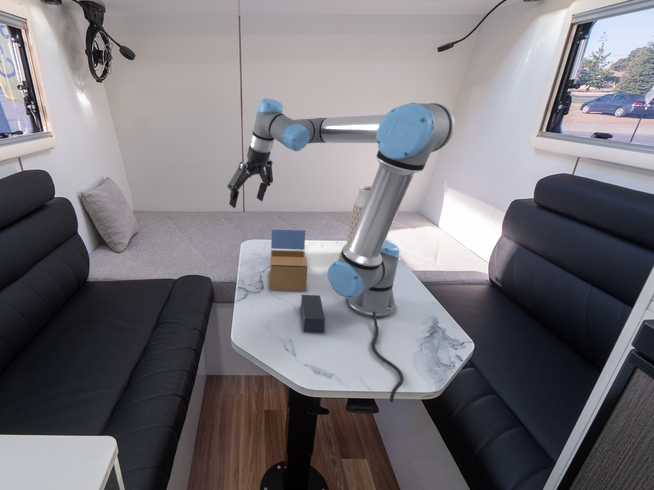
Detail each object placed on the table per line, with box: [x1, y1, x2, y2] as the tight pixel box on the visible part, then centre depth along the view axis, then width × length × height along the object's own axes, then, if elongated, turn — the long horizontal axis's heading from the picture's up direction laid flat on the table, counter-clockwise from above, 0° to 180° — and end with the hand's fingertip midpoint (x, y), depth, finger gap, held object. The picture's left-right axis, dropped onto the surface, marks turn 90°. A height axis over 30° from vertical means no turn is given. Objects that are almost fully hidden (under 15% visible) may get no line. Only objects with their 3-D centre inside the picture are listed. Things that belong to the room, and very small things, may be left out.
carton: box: [269, 249, 308, 292], centre depth 140 cm, size 15×13×10 cm
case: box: [300, 294, 326, 334], centre depth 118 cm, size 14×6×5 cm, turn 178°
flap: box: [270, 229, 306, 251], centre depth 144 cm, size 7×13×1 cm
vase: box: [345, 185, 372, 245], centre depth 156 cm, size 14×14×31 cm
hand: (246, 202), depth 138 cm, fingers open, 13 cm apart
